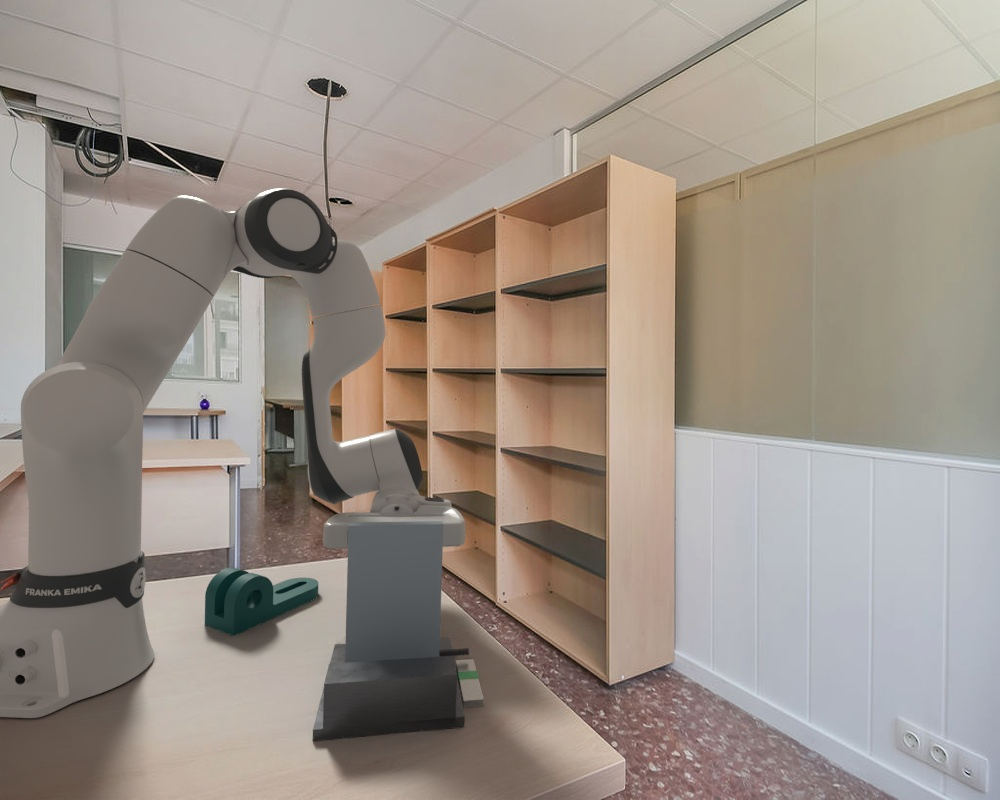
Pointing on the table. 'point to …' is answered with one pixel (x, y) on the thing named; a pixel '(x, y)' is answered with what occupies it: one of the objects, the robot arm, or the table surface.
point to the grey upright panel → (394, 591)
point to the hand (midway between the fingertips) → (395, 546)
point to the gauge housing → (395, 695)
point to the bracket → (252, 599)
